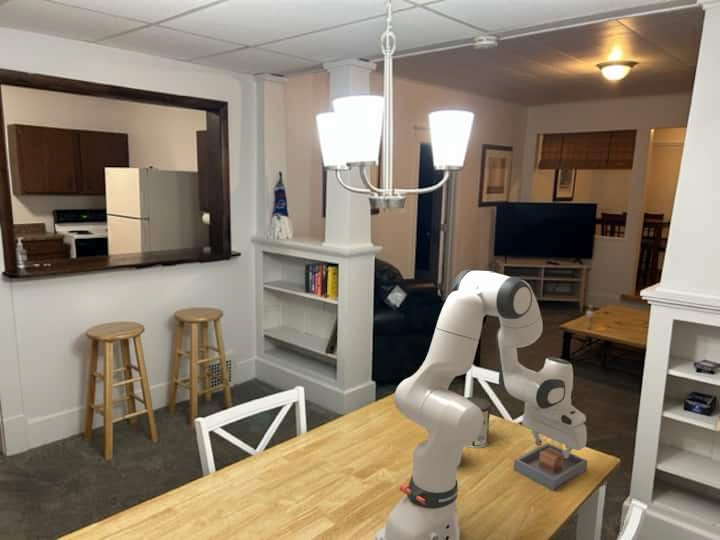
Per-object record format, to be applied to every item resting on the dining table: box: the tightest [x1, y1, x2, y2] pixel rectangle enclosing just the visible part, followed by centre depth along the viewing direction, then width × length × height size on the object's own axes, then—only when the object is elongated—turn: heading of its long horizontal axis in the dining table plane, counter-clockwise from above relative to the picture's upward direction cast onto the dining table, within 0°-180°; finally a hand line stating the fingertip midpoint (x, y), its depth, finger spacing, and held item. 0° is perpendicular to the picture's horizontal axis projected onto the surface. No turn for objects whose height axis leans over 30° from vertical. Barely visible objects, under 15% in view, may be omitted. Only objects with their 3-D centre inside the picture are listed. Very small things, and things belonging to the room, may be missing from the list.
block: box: [539, 447, 563, 474], centre depth 162 cm, size 5×5×5 cm
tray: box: [513, 442, 588, 492], centre depth 162 cm, size 18×14×4 cm
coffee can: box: [464, 396, 491, 449], centre depth 180 cm, size 10×10×14 cm
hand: (551, 450), depth 161 cm, fingers open, 8 cm apart
